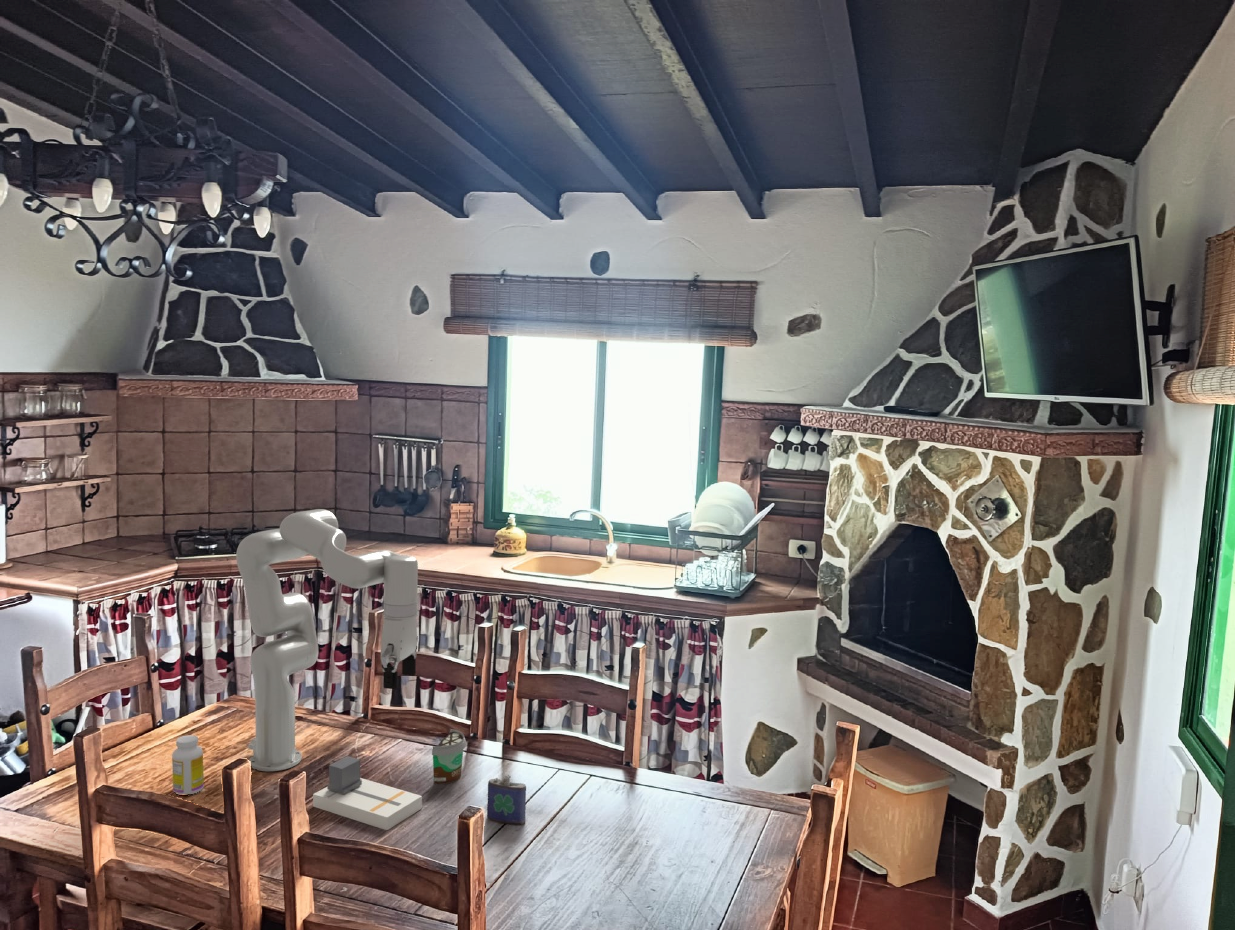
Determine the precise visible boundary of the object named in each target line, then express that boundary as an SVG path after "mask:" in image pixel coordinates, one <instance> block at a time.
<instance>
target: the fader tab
mask: <svg viewBox="0 0 1235 930" xmlns="http://www.w3.org/2000/svg"><path fill="white" fill-rule="evenodd" d="M360 778H361V759H359V758H355V757H352V756H349V755H346V756H345V757H343V758H341V759H339V760H337V761H334V762H332V763H330V764H329V766H328V784H327V786H326V787H327V789H328V790H331V791H334V792H338V793H341V794H345V793H347V792H349V791H351V790H353V789H354V788H356V787H358V786H360V785H362V780H360Z"/></svg>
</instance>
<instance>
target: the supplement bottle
mask: <svg viewBox="0 0 1235 930" xmlns="http://www.w3.org/2000/svg"><path fill="white" fill-rule="evenodd" d="M175 743H176V744H175V745H176V747H177V748H176V749H174V751H173V752H172V755H171V757H172V760H171V761H172V763H171V764H172V767H171V768H172V789H173V793H174V792H176V793H178V794H193V793H196V794H198V793H200V792H201V791H203V789H204V786H205V784H204V783H205V782H204V781H205V780H204V778H205V777H204V750H203V748H202V747H201V746H200V745H198V743H199V737H198V736H197V735H193V734H191V735H190V734H189V735H183V736H180V737H178V738H176V741H175ZM199 791H200V792H199ZM197 792H198V793H197ZM193 795H194V794H193Z"/></svg>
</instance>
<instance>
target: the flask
mask: <svg viewBox="0 0 1235 930" xmlns="http://www.w3.org/2000/svg"><path fill="white" fill-rule="evenodd" d="M510 779H511V775H510V774H507V775H504V776H503V777H502V779H500V778H498V777H496V778H491V779H489V780H488V782H487V803H486V804H487V805H486V806H487V807H486V817H487V818H486V820H488V821H490V822H494V823H498V824H506V825H512V826H523V825H525V823H526V808H527V807H526V804H527V803H526V801H527V800H526V799H527V797H526V795H527V793H526V792H527V785H526V784H525V783H521V782H510Z"/></svg>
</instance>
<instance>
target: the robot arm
mask: <svg viewBox="0 0 1235 930" xmlns="http://www.w3.org/2000/svg"><path fill="white" fill-rule="evenodd" d="M346 546H347V536H346V533H345V532H344V531H343V530H342V529H339V521H338V519H337V517H336V516H335V515H334V514H333V512H331V511H330V510H327V509H324V508H315V509H310V510H305V511H303V510H302V511H297V512H293V513H291V514H289V515H287V516H286V517H285V518H283V520H282V521H281V523H280V525H279V528H274V529H267V530H261V531H258V532H255V533H254V532H253V533H251V534H249V535H248V536H246V537H244V538H243V539H242V540H241V541H240V543H239V545H238V547H237V549H236V554H235V555H236V557H235V559H236V564H237V568H238V571H239V574H240V576H241V579H242V582H243V585H244V591H245V592H244V593H245V599H246V605H247V610H248V616H249V622H250V626H251V629H252V631H253V633H254V634H255V635H256V636H258V637H261V638H262V637H263V638H267V637H272V636H276V635H279V634H282V633H283V634H284V633H286V635H287V636H286V637H281V638H278V639H275V640H271V641H267V642H265V643H263V644H260V645H259V646H258V647H256V648H255V649H254V650H253V652H252V654H251V656H250V661H249V662H250V670H251V673H252V678H253V685H254V706H255V714H254V715H255V716H254V717H255V721H254V722H255V723H254V724H255V737H253V738H252V739H251V740H250V743H248V744H247V746H246V747H247V749H249V750H252V751H253V753H252V755H251V757H250V758H249V760H250V761H251V766H252V767H251V766H250V767H251V769H253V770H255V769H257V770H256V771H259V772H278V771H283V770H287V769H290V768H293V767H295V766H297V765H298V764H299V763H300V762H301V761H302V752H301V751H300V750H298V749H297V748H296V706H295V705H296V697H295V696H296V695H295V693H296V692H295V689H294V688H293V686H292V684H291V683H290V681H289V680H288V677H290V676H291V675H293V674H295V673H299V672H301V671H304V670H307V669H309V668H311V667H312V666H314V665H315V664H316V662H317V661H318V658H319V643H318V637H317V631H316V625H315V620H314V613H313V609H312V606H311V604H310V602H309V600H308V599H307V597H306V596H305V595H303V594H302V593H300V592H288V593H284V594H283V591H282V585H281V581H280V578H279V576H278V574H277V573H276V571H275V570H274V569H273V567H271V566H270V565H273V564H277V563H283V562H288V561H293V560H297V559H301V558H303V557H306V556H308V555H309V556H311V557H313V558H315V559H317V560H319V561H320V564H321V567H322V569H323V571H324V573H325V574H326V575H327V576H328V577H329V578H330V579H332V580H333V581H335V582H337V583H339V584H341V585H344V586H345V587H349V588H351V589H363V588H367V587H370V586H371V587H372V586H374V585H378V584H382V583H383V618H384V619H383V624H382V630H381V641H380V661H381V667H382V673H383V688H384V689H389V690H397V689H398V681H399V678H398V674H399V673H398V671H397V669H398V665H399V663H400V662H402V663H401V664H402V666H401V673H402V675H404V676H412V677H413V676H416V673H417V672H416V669H417V668H416V667H417V666H416V665H417V664H416V663H417V662H416V661H417V659H416V658H417V650H418V641H419V636H418V631H417V626H418V625H417V619H416V618H417V616H418V591H419V590H418V589H419V588H418V583H419V582H418V580H419V579H418V575H419V573H418V571H419V565H418V564H419V563H418V559H416V558H415V557H414V556H412V555H405V554H398V553H397V552H394V551H391V550H389V549H380V550H379V549H378V550H375V551H370V552H365V553H361V554H357V555H352V554H351V553H348V552H346V551H345V550H346ZM392 663H393V665H392Z"/></svg>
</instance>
